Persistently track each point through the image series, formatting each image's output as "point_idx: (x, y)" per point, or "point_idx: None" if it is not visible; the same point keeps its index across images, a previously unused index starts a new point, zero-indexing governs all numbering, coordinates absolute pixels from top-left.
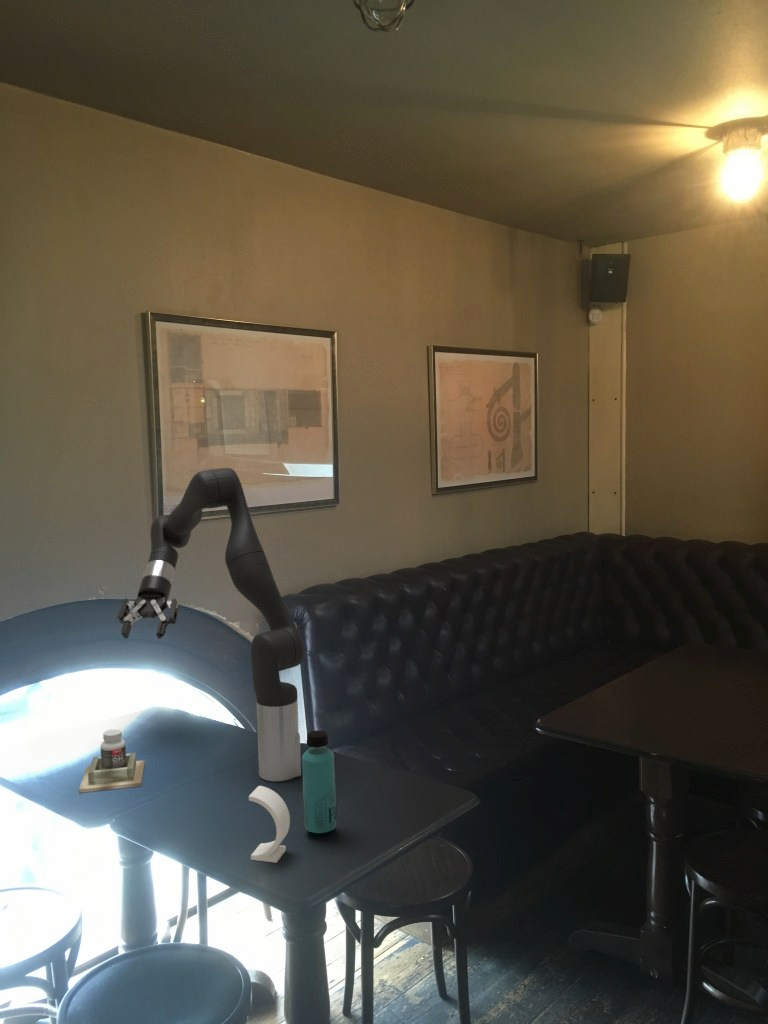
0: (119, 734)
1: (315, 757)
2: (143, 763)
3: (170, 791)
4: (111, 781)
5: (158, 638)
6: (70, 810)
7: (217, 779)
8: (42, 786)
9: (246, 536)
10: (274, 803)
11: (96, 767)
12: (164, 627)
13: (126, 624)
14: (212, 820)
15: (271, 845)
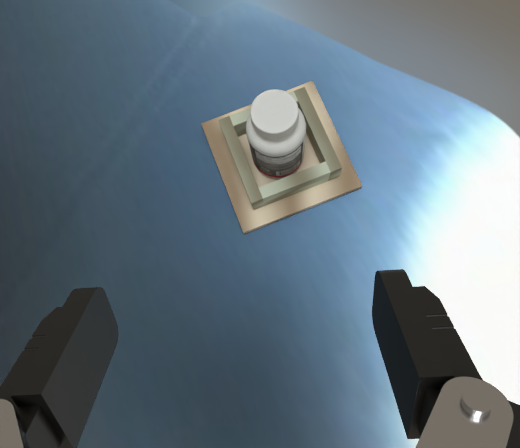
0: (251, 107)
1: None
2: (237, 214)
3: (136, 114)
4: None
5: (114, 323)
6: (288, 23)
7: (59, 175)
8: (406, 101)
9: None
10: None
11: (310, 131)
12: (19, 363)
13: (423, 345)
14: (30, 27)
15: None
